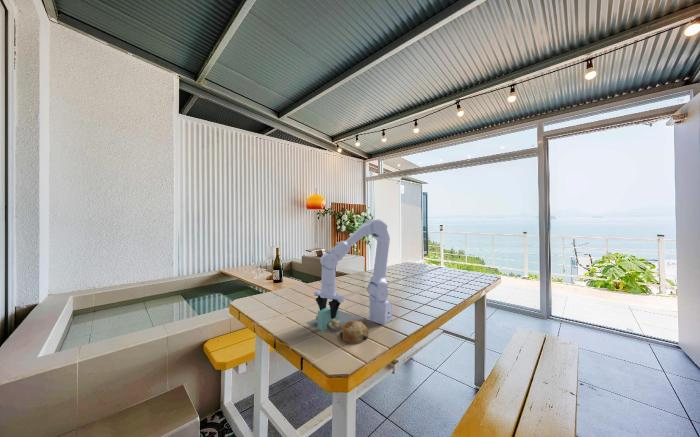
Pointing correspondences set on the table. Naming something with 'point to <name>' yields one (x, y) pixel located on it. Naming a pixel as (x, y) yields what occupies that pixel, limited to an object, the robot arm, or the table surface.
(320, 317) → the teal board
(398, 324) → the table surface
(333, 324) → the birch u-shaped block
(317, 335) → the table surface
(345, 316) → the mat
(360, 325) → the bread roll
